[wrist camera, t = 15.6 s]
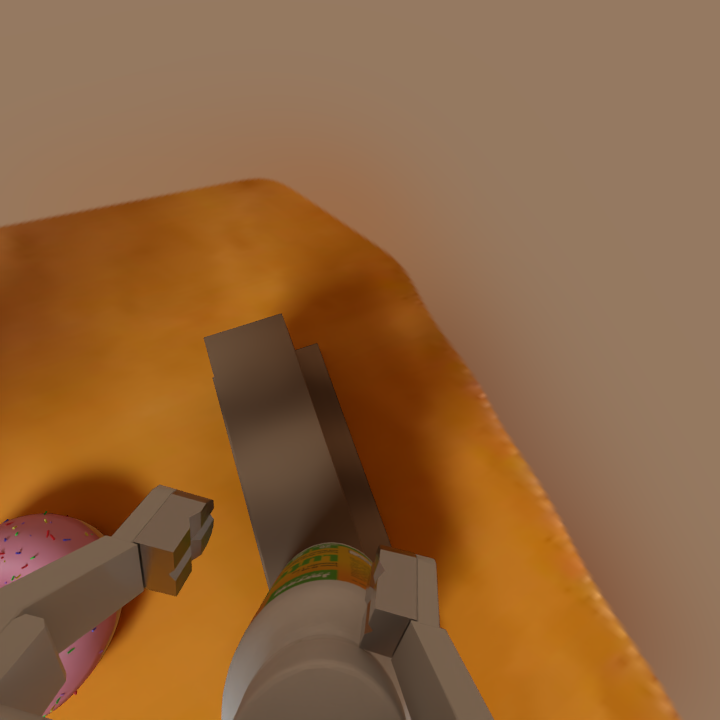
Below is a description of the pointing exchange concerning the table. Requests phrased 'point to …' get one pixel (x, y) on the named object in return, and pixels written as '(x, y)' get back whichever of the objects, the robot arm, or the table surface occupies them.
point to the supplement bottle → (313, 648)
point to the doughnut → (38, 548)
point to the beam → (291, 446)
